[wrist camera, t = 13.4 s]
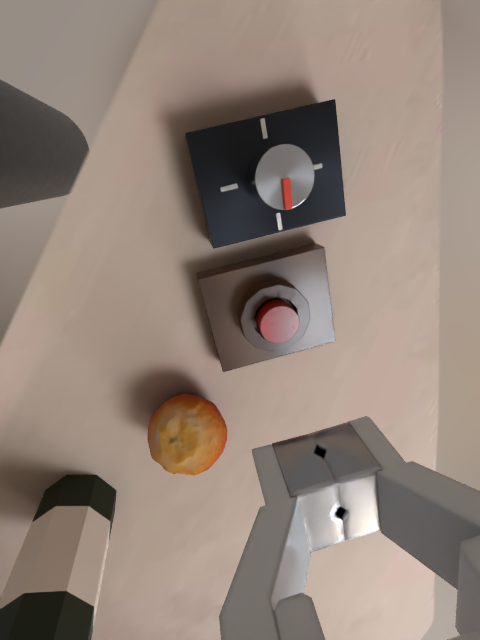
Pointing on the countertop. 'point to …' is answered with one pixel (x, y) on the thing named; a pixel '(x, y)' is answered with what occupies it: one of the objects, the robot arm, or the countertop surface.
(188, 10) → the countertop surface
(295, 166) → the dial
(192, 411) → the fruit
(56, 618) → the wine bottle
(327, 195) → the dial panel
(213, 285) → the button box
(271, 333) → the red button
